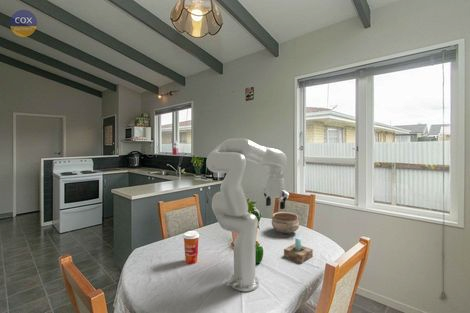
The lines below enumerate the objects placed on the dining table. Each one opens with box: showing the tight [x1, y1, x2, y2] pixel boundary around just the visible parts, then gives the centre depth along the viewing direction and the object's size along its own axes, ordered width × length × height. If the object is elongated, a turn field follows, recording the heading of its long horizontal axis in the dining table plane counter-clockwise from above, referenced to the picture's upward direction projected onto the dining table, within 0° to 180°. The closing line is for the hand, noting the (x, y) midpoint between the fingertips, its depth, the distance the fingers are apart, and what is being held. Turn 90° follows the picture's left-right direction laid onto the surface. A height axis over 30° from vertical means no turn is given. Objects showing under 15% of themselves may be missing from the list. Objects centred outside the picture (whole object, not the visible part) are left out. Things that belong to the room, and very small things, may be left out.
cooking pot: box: [271, 211, 300, 235], centre depth 167 cm, size 25×19×12 cm
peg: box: [294, 236, 302, 252], centre depth 131 cm, size 3×3×10 cm
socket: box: [283, 243, 314, 264], centre depth 131 cm, size 11×11×4 cm
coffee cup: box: [182, 230, 200, 265], centre depth 125 cm, size 8×8×15 cm
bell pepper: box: [255, 242, 264, 265], centre depth 125 cm, size 8×8×10 cm
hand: (275, 207), depth 130 cm, fingers open, 9 cm apart
